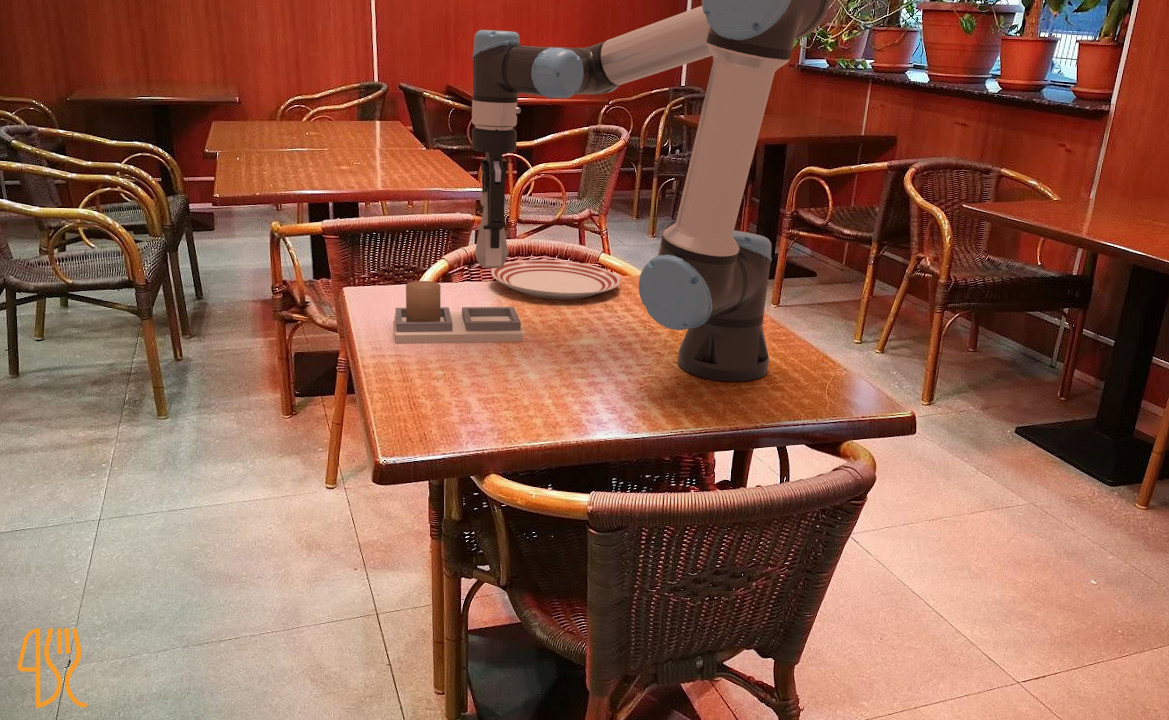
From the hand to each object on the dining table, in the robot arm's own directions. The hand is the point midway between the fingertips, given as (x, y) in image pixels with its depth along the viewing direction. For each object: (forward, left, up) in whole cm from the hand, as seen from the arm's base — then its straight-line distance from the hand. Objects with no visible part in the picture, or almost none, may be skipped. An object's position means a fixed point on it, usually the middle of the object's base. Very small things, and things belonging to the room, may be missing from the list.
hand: (491, 260), depth 167 cm
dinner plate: (+29, -17, -13) cm, 36 cm away
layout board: (0, +6, -13) cm, 14 cm away
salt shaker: (0, 0, -1) cm, 1 cm away
